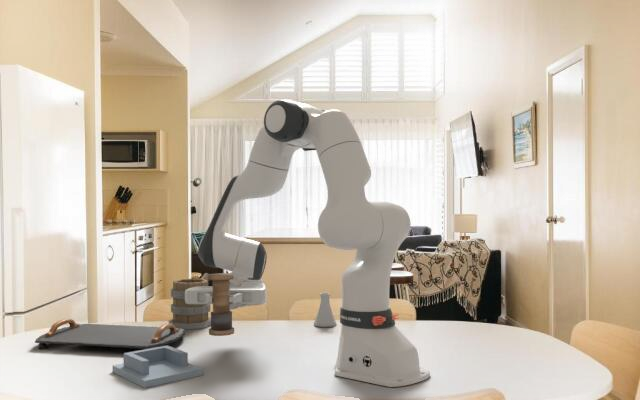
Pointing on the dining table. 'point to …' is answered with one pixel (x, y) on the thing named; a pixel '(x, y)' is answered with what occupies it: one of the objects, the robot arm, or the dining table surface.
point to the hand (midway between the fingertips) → (220, 300)
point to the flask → (325, 313)
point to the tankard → (189, 305)
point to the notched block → (156, 366)
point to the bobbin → (221, 305)
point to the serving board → (110, 335)
